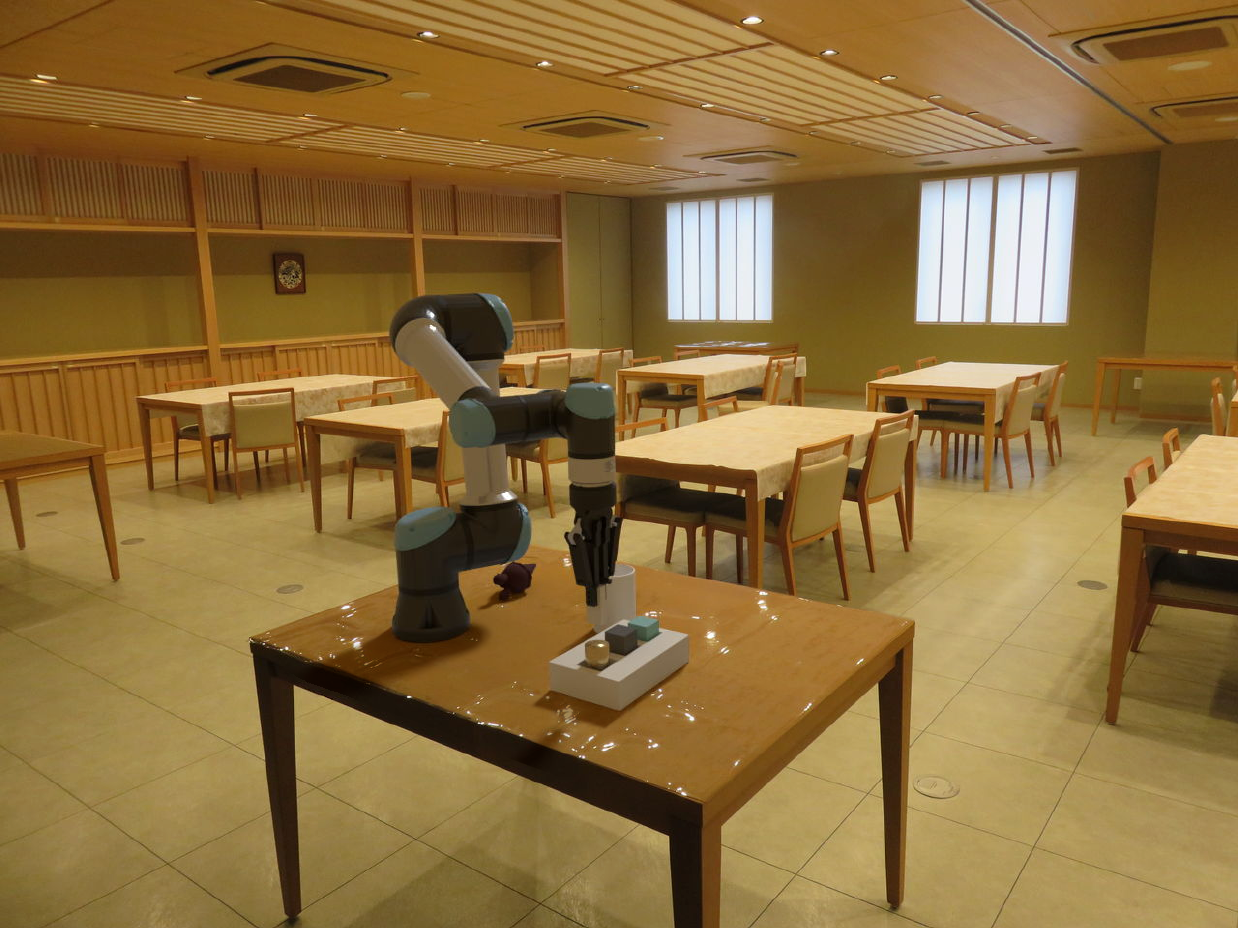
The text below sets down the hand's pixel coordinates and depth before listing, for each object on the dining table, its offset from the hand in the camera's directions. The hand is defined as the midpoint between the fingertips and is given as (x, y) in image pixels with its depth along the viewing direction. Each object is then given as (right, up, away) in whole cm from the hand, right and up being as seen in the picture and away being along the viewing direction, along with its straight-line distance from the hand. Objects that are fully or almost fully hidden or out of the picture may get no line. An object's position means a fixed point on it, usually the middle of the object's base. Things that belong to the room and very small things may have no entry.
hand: (597, 622), depth 147 cm
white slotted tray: (+4, -11, +8) cm, 14 cm away
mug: (+2, -7, +28) cm, 28 cm away
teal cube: (+8, -6, +13) cm, 17 cm away
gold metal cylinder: (0, -8, +2) cm, 8 cm away
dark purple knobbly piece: (-19, -2, +51) cm, 54 cm away
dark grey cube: (+4, -7, +8) cm, 11 cm away
